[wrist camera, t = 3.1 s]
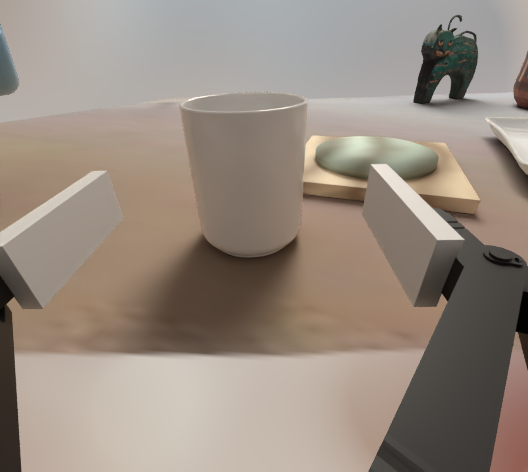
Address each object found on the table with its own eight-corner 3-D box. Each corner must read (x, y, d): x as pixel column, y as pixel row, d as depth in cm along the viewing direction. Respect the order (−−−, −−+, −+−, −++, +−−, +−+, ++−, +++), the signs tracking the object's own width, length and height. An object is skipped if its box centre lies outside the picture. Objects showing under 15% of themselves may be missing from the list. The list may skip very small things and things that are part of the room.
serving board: (278, 190, 33) (278, 170, 32) (311, 144, 49) (312, 129, 48) (474, 214, 28) (484, 190, 26) (441, 153, 43) (447, 136, 42)
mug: (301, 266, 22) (310, 111, 16) (190, 262, 23) (157, 113, 17) (299, 198, 32) (304, 86, 26) (222, 196, 33) (209, 88, 26)
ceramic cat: (421, 105, 78) (444, 13, 67) (403, 102, 83) (422, 16, 72) (470, 98, 85) (499, 13, 74) (450, 96, 90) (475, 16, 79)
